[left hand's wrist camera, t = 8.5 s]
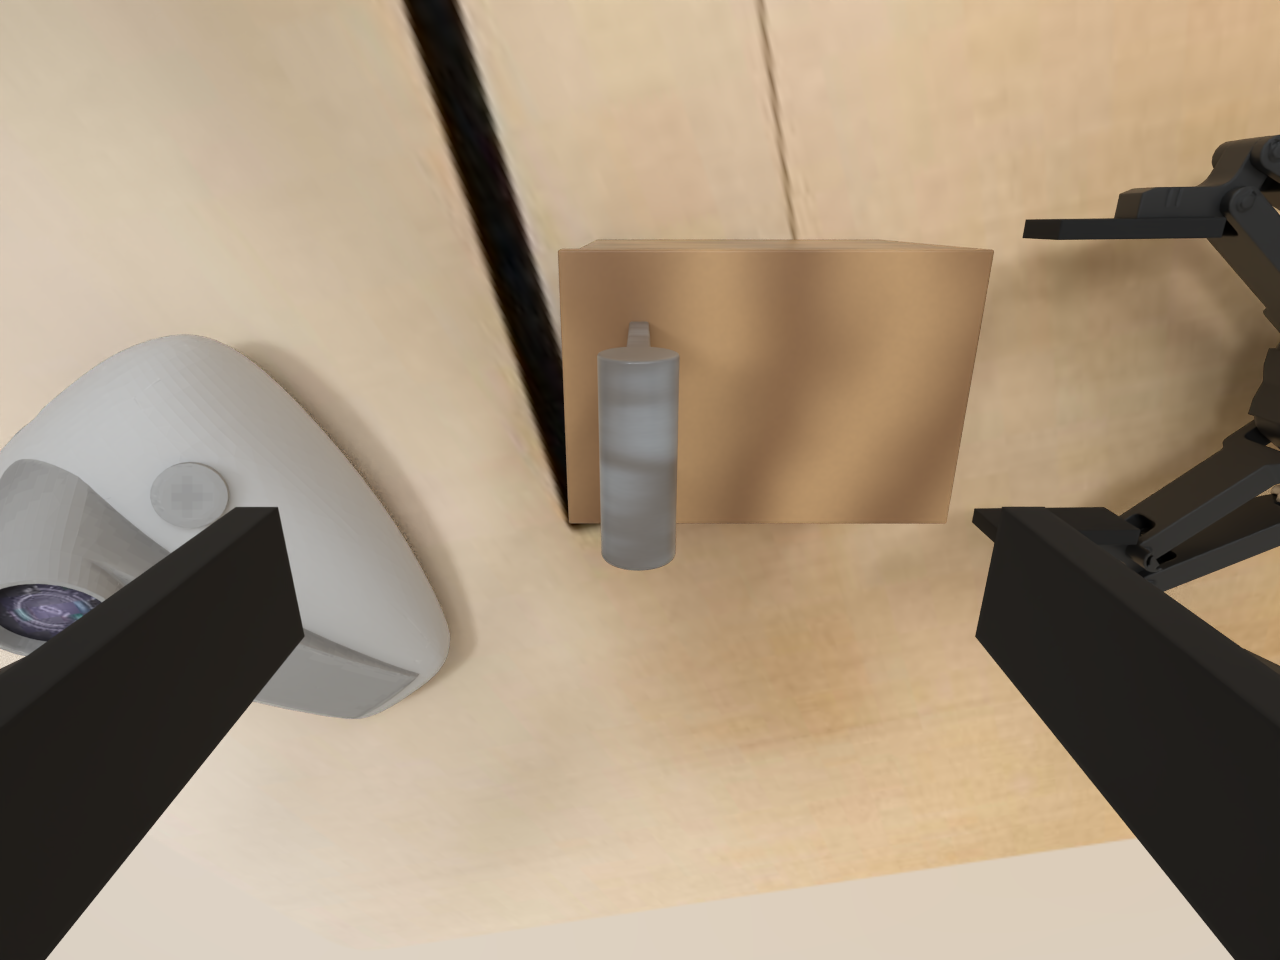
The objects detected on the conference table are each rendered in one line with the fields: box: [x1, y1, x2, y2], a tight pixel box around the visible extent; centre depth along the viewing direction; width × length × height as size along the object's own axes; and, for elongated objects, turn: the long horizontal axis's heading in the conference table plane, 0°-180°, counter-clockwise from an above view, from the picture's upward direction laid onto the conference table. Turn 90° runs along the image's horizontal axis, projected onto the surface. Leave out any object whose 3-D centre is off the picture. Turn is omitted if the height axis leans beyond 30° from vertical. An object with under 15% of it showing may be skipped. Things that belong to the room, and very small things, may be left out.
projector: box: [0, 335, 450, 719], centre depth 33 cm, size 22×23×15 cm
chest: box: [580, 240, 977, 249], centre depth 31 cm, size 14×10×11 cm
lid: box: [558, 249, 994, 570], centre depth 22 cm, size 15×10×9 cm
